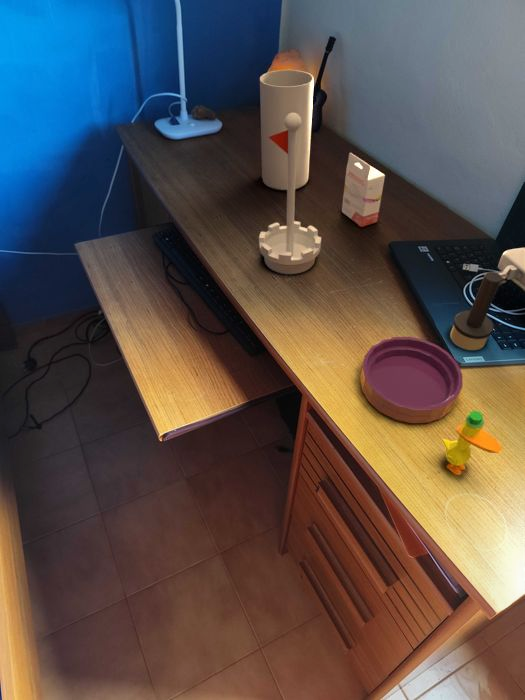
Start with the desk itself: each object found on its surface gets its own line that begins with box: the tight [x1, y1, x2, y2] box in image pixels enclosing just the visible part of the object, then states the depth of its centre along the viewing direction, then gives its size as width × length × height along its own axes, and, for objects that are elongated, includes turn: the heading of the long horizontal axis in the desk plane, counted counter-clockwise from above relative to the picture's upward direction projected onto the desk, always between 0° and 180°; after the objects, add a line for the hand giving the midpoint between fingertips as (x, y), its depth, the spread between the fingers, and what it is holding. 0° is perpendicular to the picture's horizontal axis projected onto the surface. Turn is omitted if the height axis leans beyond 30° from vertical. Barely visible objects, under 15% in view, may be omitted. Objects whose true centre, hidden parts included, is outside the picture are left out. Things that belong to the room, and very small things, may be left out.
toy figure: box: [441, 410, 503, 476], centre depth 61 cm, size 7×4×12 cm, turn 48°
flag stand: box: [258, 113, 322, 275], centre depth 90 cm, size 13×13×30 cm
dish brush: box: [449, 271, 502, 351], centre depth 78 cm, size 6×6×14 cm
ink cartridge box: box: [341, 152, 386, 228], centre depth 107 cm, size 9×5×15 cm, turn 27°
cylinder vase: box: [259, 69, 315, 191], centre depth 117 cm, size 12×12×25 cm
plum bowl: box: [359, 336, 464, 424], centre depth 75 cm, size 15×15×4 cm
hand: (513, 296), depth 79 cm, fingers open, 8 cm apart
